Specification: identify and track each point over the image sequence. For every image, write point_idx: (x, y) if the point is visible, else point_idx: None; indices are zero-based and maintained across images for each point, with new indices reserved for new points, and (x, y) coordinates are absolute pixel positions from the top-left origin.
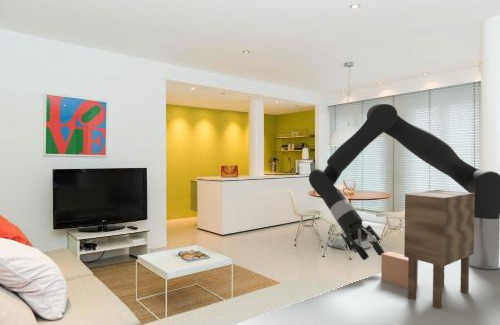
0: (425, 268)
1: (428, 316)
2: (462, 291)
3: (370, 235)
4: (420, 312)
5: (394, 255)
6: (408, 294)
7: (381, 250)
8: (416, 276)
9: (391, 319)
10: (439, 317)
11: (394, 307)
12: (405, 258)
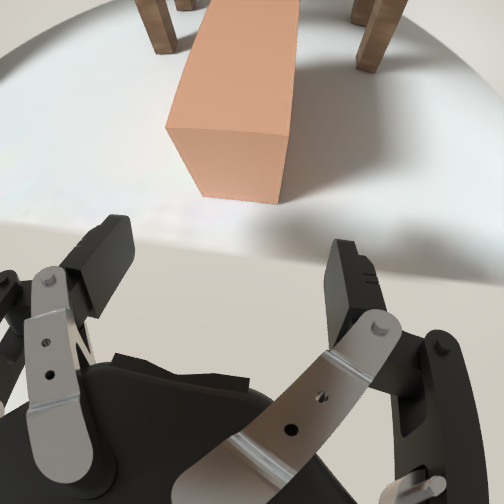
0: (22, 154)
1: (417, 34)
2: (193, 5)
3: (60, 333)
4: (417, 46)
5: (257, 64)
6: (378, 64)
7: (119, 226)
8: (374, 4)
9: (494, 92)
10: (399, 20)
11: (453, 94)
12: (268, 17)
